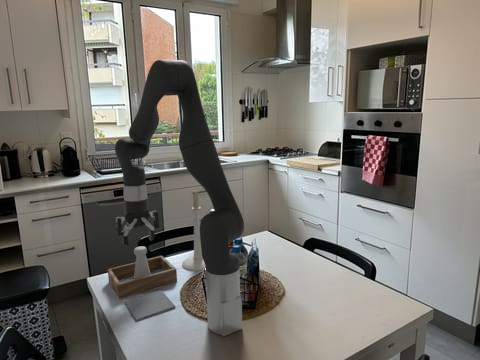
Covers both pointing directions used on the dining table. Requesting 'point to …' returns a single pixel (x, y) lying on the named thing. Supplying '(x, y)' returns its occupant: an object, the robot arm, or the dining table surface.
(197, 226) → the candlestick
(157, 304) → the grey mat
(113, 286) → the frame
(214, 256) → the robot arm
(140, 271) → the salt shaker
